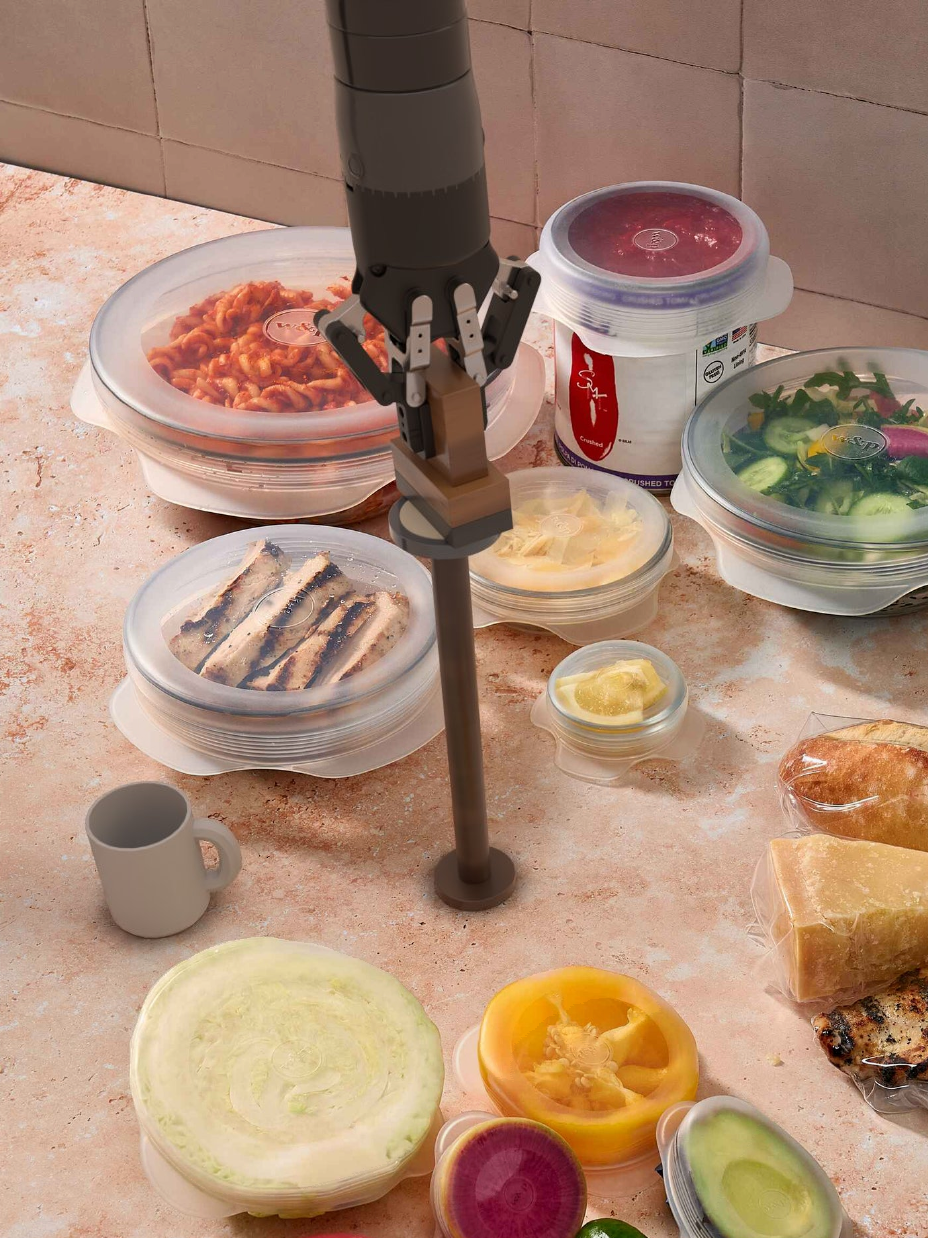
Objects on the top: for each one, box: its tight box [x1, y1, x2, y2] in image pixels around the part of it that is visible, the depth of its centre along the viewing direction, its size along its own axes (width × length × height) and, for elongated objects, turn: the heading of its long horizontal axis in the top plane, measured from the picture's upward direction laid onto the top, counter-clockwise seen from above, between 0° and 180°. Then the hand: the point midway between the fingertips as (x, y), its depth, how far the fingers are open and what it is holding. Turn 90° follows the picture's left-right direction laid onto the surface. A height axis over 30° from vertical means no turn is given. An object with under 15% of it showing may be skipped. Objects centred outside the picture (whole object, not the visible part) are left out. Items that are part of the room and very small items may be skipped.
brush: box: [389, 342, 514, 549], centre depth 99 cm, size 8×4×10 cm, turn 32°
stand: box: [429, 556, 517, 912], centre depth 113 cm, size 6×6×31 cm
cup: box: [84, 780, 243, 939], centre depth 119 cm, size 7×10×9 cm
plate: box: [387, 495, 503, 560], centre depth 102 cm, size 7×7×1 cm
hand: (445, 444), depth 99 cm, fingers closed on brush, 2 cm apart
